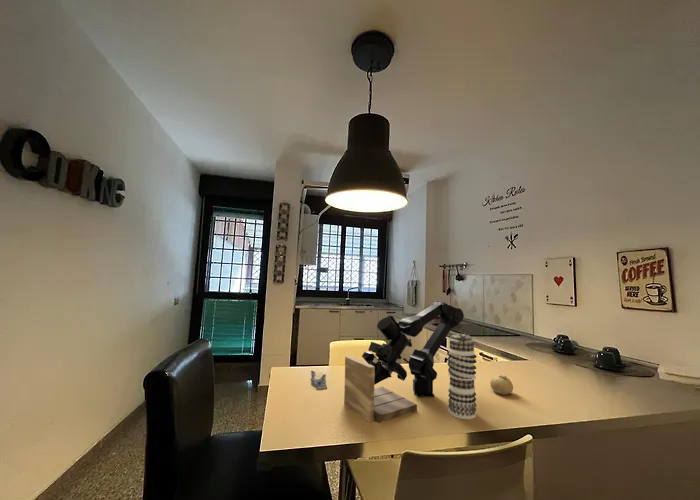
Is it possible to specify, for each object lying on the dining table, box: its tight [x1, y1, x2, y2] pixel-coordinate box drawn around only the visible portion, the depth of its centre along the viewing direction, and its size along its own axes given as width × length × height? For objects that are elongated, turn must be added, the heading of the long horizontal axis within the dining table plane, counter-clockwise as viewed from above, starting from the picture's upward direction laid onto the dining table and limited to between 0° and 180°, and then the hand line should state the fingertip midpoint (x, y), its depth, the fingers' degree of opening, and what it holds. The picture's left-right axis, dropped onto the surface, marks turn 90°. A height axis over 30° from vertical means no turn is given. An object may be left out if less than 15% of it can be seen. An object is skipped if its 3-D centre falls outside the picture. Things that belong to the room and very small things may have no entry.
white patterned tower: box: [446, 333, 477, 420], centre depth 99 cm, size 9×9×25 cm
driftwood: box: [310, 370, 328, 390], centre depth 125 cm, size 21×7×2 cm, turn 6°
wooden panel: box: [373, 386, 418, 424], centre depth 102 cm, size 16×18×2 cm
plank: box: [343, 355, 375, 422], centre depth 97 cm, size 2×14×16 cm, turn 33°
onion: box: [490, 374, 514, 396], centre depth 116 cm, size 8×8×7 cm
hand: (369, 385), depth 100 cm, fingers closed
